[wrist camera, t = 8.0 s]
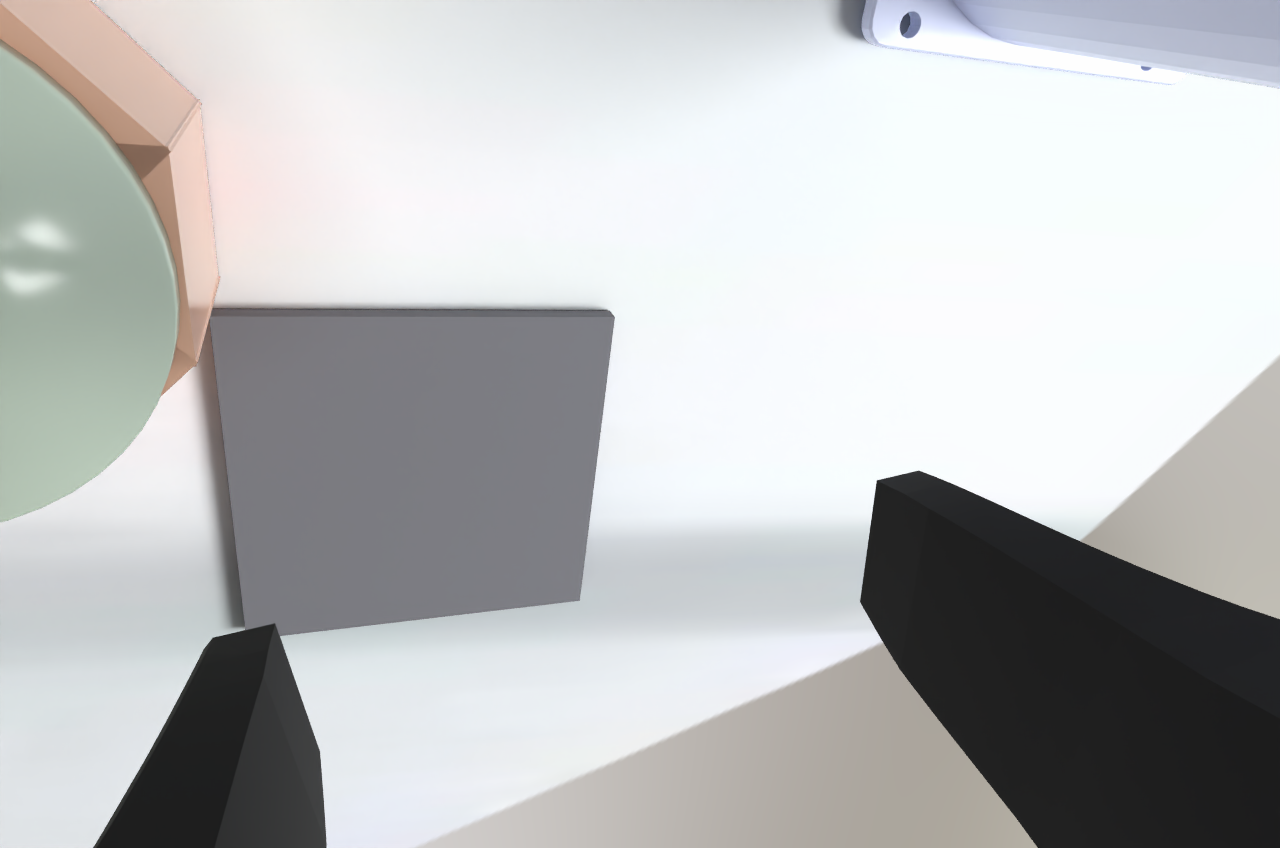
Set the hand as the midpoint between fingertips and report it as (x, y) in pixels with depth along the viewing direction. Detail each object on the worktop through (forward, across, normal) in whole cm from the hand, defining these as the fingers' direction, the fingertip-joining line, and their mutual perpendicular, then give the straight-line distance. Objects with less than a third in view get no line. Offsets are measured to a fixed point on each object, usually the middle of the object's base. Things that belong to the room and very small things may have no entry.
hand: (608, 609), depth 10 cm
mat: (+10, +2, +4) cm, 11 cm away
